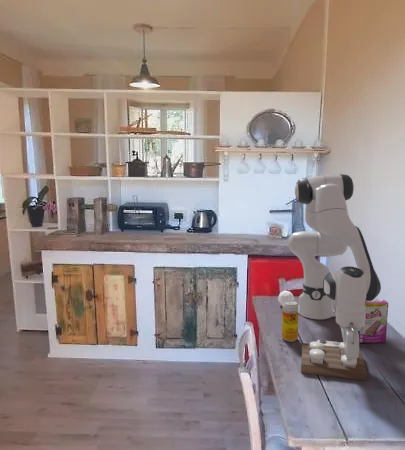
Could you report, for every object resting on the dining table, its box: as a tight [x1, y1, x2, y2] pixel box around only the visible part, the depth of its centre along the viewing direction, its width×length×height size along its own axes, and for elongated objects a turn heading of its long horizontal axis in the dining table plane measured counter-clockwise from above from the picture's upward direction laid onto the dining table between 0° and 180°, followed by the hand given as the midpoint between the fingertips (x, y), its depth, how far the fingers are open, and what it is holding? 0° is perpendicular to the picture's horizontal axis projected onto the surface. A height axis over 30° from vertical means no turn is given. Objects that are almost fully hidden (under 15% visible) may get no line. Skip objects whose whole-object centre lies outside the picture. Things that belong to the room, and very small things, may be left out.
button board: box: [300, 342, 368, 382], centre depth 127 cm, size 16×20×3 cm
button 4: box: [341, 355, 357, 368], centre depth 122 cm, size 5×5×4 cm
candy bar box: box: [358, 298, 389, 344], centre depth 144 cm, size 11×5×16 cm, turn 92°
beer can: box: [281, 300, 299, 343], centre depth 147 cm, size 6×6×15 cm
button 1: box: [309, 341, 324, 351], centre depth 132 cm, size 5×5×4 cm
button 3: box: [310, 349, 325, 364], centre depth 125 cm, size 5×5×4 cm
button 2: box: [339, 341, 346, 355], centre depth 129 cm, size 5×5×4 cm
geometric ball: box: [277, 290, 295, 306], centre depth 185 cm, size 8×8×8 cm
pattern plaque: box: [316, 339, 342, 347], centre depth 141 cm, size 7×9×1 cm
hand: (348, 358), depth 121 cm, fingers closed, pressing on button 4
